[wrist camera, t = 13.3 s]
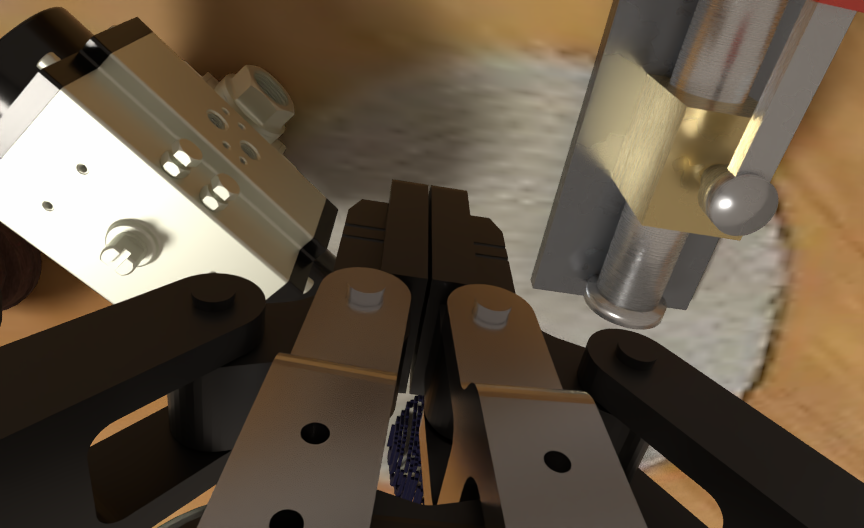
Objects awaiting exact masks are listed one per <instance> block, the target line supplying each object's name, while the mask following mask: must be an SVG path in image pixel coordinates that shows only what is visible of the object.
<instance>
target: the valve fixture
mask: <svg viewBox="0 0 864 528" xmlns="http://www.w3.org/2000/svg"><path fill="white" fill-rule="evenodd" d="M805 1H806V0H613V3H612V7H611V10H610V13H609V17H608V20H607V24H606V27H605V30H604V34H603V37H602V40H601V44H600V47H599V51H598V54H597V57H596V61H595V64H594V67H593V71H592V74H591V78H590V81H589V84H588V88H587V91H586V95H585V98H584V101H583V105H582V108H581V111H580V115H579V118H578V122H577V125H576V128H575V132H574V135H573V138H572V142H571V145H570V149H569V152H568V155H567V159H566V162H565V166H564V169H563V172H562V176H561V179H560V182H559V186H558V189H557V193H556V196H555V199H554V203H553V206H552V209H551V213H550V216H549V220H548V223H547V226H546V230H545V233H544V237H543V240H542V243H541V247H540V250H539V253H538V257H537V260H536V264H535V267H534V270H533V274H532V277H531V283H532V287H533V288H534V289H541V290H548V291H555V292H562V293H569V294H576V295H583V296H584V299H585V302H586V303H587V305H588V306H589V307H590V309H591V310H593V311H594V312H595V313H596V314H597V315H599V316H600V317H602V318H604V319H605V320H607V321H609V322H612V323H614V324H617V325H620V326H623V327H627V328H632V329H650V328H653V327H656V326H657V325H659V324H660V322H661V320H662V318H663V316H664V313H665V311H666V308H667V307H668V308H675V309H682V310H686V309H687V307H688V305H689V303H690V301H691V299H692V296H693V294H694V292H695V290H696V288H697V286H698V283H699V281H700V279H701V277H702V275H703V272H704V270H705V268H706V266H707V264H708V262H709V259H710V257H711V255H712V253H713V251H714V249H715V246H716V244H717V242H718V240H719V238H726V239H733V240H739V241H740V240H741V238H742V236H731V235H727V234H725V233H723V232H721V231H720V230H719V229H718V228H717V227H716V226H715V225H714V224H713V222H712V221H711V220H710V219H709V218H708V217H707V215H706V214H705V213H704V212H703V211H702V210H701V208H700V206H699V204H698V191H699V188H700V185H701V183H702V182H703V180H704V179H705V178H706V176H707V175H708V174H709V173H710V172H712V171H713V170H715V169H716V168H718V167H720V166H722V165H725V164H729V163H730V162H731V160H732V158H733V155H734V153H735V151H736V149H737V147H738V145H739V143H740V140H741V138H742V136H743V134H744V132H745V130H746V128H747V125H748V123H749V121H750V119H751V117H752V115H753V113H754V110H755V108H756V106H757V104H758V102H759V100H760V98H761V95H762V93H763V91H764V89H765V87H766V85H767V83H768V80H769V78H770V76H771V74H772V72H773V70H774V68H775V65H776V63H777V61H778V59H779V57H780V55H781V53H782V50H783V48H784V46H785V44H786V42H787V40H788V38H789V35H790V33H791V31H792V29H793V27H794V25H795V23H796V20H797V18H798V16H799V14H800V12H801V10H802V8H803V5H804V3H805Z"/></svg>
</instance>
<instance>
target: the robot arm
mask: <svg viewBox="0 0 864 528" xmlns="http://www.w3.org/2000/svg"><path fill="white" fill-rule="evenodd" d="M409 373H410V392H409V394H415V395H423V396H424V409H423V414H422V419H421V423H420V428H419V441H420V454H421V466H422V479H423V492H424V504H425V505H422V504H418V503H415V502H412V501H409V500H406V499H403V498H400V497H397V496H394V495H391V494H388V493H385V492H382V491H379V490H377V485H378V479H379V474H380V468H381V463H382V457H383V452H384V446H385V441H386V435H387V429H388V424H389V418H390V417H391V416H392V415H393V413H394V410H395V406H396V401H397V395H398V393H406V388H407V383H408V378H409ZM165 395H167V397H168V406H167V407H165V408H163V409H161V410H159V411H157V412H155V413H153V414H151V415H149V416H148V417H146V418H144V419H142V420H140V421H138V422H136V423H134V424H132V425H131V426H129V427H127V428H125V429H123V430H121V431H119V432H117V433H115V434H113V435H112V436H110V437H108V438H106V439H104V440H102V441H100V442H98V443H96V444H95V445H93V446H91V447H90V445H91V443H92V442H93V440H94V439H95V437H96V436H97V435H98V434H99V433H100V432H101V431H102V430H103V429H104V428H105V427H107V426H108V425H109V424H111V423H113V422H114V421H116V420H118V419H120V418H122V417H124V416H126V415H128V414H130V413H132V412H134V411H136V410H137V409H139V408H141V407H143V406H145V405H147V404H149V403H151V402H153V401H155V400H157V399H159V398H161V397H163V396H165ZM649 445H650V446H652V447H653V448H654V449H655V450H657V451H658V452H659V453H660V454H662V455H663V456H664V457H665V458H666V459H668V460H669V461H670V462H671V463H673V464H674V465H675V466H676V467H678V468H679V469H680V470H681V471H682V472H684V473H685V474H686V475H687V476H689V477H690V478H691V479H692V480H694V481H695V482H696V483H697V484H698V485H700V486H701V487H702V488H703V489H705V490H706V491H707V492H708V493H709V494H710V495H711V496H712V497H713V498H714V499H715V501H716V502H717V504H718V505H719V507H720V509H721V512H722V515H723V528H864V483H863V482H861V481H860V480H858V479H857V478H855V477H854V476H853V475H851V474H850V473H848V472H847V471H845V470H844V469H842V468H841V467H839V466H838V465H836V464H835V463H833V462H832V461H831V460H829V459H828V458H826V457H825V456H823V455H822V454H820V453H819V452H817V451H816V450H814V449H813V448H811V447H810V446H809V445H807V444H806V443H804V442H803V441H801V440H800V439H798V438H797V437H795V436H794V435H792V434H791V433H789V432H788V431H787V430H785V429H784V428H782V427H781V426H779V425H778V424H776V423H775V422H773V421H772V420H770V419H769V418H767V417H766V416H765V415H763V414H762V413H760V412H759V411H757V410H756V409H754V408H753V407H751V406H750V405H748V404H747V403H745V402H744V401H743V400H741V399H740V398H738V397H737V396H735V395H734V394H732V393H731V392H729V391H728V390H726V389H725V388H723V387H722V386H721V385H719V384H718V383H716V382H715V381H713V380H712V379H710V378H709V377H707V376H706V375H704V374H703V373H702V372H700V371H699V370H697V369H696V368H694V367H693V366H691V365H690V364H688V363H687V362H685V361H684V360H682V359H681V358H680V357H678V356H677V355H675V354H674V353H672V352H671V351H669V350H668V349H666V348H665V347H663V346H662V345H660V344H659V343H657V342H656V341H654V340H652V339H650V338H648V337H646V336H644V335H641V334H639V333H635V332H632V331H628V330H623V329H604V330H600V331H597V332H596V333H594V334H593V335H592V336H591V337H590V338H589V340H588V342H587V345H586V348H584V347H581V346H579V345H576V344H573V343H570V342H567V341H564V340H561V339H558V338H556V337H553V336H551V335H549V334H547V333H545V332H543V331H542V330H541V329H540V326H539V323H538V321H537V318H536V315H535V313H534V311H533V309H532V307H531V306H530V305H529V304H528V303H527V302H526V301H525V300H524V299H522V298H521V297H520V296H518V295H516V294H515V289H514V284H513V280H512V275H511V270H510V265H509V261H508V256H507V251H506V249H505V242H504V237H503V233H502V231H501V230H500V229H499V228H498V227H497V226H496V225H495V224H494V223H493V222H492V220H491V219H490V218H484V217H478V216H471V215H470V209H469V201H468V193H467V191H465V190H458V189H452V188H446V187H439V186H433V185H431V187H430V190H429V195H428V185H426V184H419V183H413V182H406V181H400V180H393V179H392V185H391V191H390V198H389V203H384V202H378V201H371V200H364V199H362V200H361V201H359V202H358V203H357V204H355V205H354V206H353V207H351V208H350V209H349V210H348V214H347V218H346V222H345V226H344V230H343V234H342V238H341V242H340V246H339V249H338V253H337V257H336V261H335V265H334V269H333V272H332V273H330V274H329V275H327V276H326V277H325V278H324V279H323V280H322V282H321V283H320V286H319V288H318V290H317V293H316V295H314V296H311V297H309V298H306V299H302V300H298V301H292V302H281V303H266V299H265V295H264V293H263V291H262V290H261V288H260V287H259V286H257V285H256V284H255V283H253V282H252V281H250V280H248V279H245V278H243V277H240V276H236V275H231V274H224V273H206V274H198V275H193V276H190V277H187V278H183V279H181V280H178V281H175V282H173V283H170V284H167V285H165V286H162V287H159V288H157V289H154V290H151V291H149V292H146V293H143V294H140V295H138V296H135V297H132V298H130V299H127V300H124V301H122V302H119V303H116V304H114V305H111V306H108V307H106V308H103V309H100V310H98V311H95V312H92V313H89V314H87V315H84V316H81V317H79V318H76V319H73V320H71V321H68V322H65V323H63V324H60V325H57V326H55V327H52V328H49V329H47V330H44V331H41V332H38V333H36V334H33V335H30V336H28V337H25V338H22V339H20V340H17V341H14V342H12V343H9V344H6V345H4V346H1V347H0V528H152V527H153V526H155V525H156V524H158V523H159V522H161V521H162V520H164V519H165V518H167V517H168V516H170V515H171V514H173V513H174V512H176V511H177V510H179V509H180V508H182V507H183V506H185V505H186V504H188V503H189V502H191V501H192V500H193V499H195V498H196V497H198V496H199V495H201V494H202V493H204V492H205V491H207V490H208V489H210V488H211V487H213V486H214V485H216V484H217V485H216V487H215V489H214V491H213V493H212V496H211V498H210V500H209V502H208V504H207V505H204V506H201V507H198V508H195V509H193V510H191V511H189V512H186V513H184V514H182V515H180V516H177V517H175V518H173V519H172V520H170V521H168V522H166V523H164V524H163V525H161V526H159V527H157V528H708V527H707V526H706V525H705V524H704V523H703V522H701V521H700V520H699V519H698V518H697V517H695V516H694V515H693V514H692V513H691V512H690V511H688V510H687V509H686V508H685V507H684V506H683V505H681V504H680V503H679V502H678V501H677V500H675V499H674V498H673V497H672V496H671V495H670V494H668V493H667V492H666V491H665V490H664V489H663V488H661V487H660V486H659V485H658V484H657V483H655V482H654V481H653V480H652V479H651V478H650V477H648V476H647V475H646V474H645V473H644V472H643V471H641V470H640V469H639V468H638V467H639V465H640V462H641V460H642V458H643V456H644V454H645V452H646V450H647V448H648V446H649Z"/></svg>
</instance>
